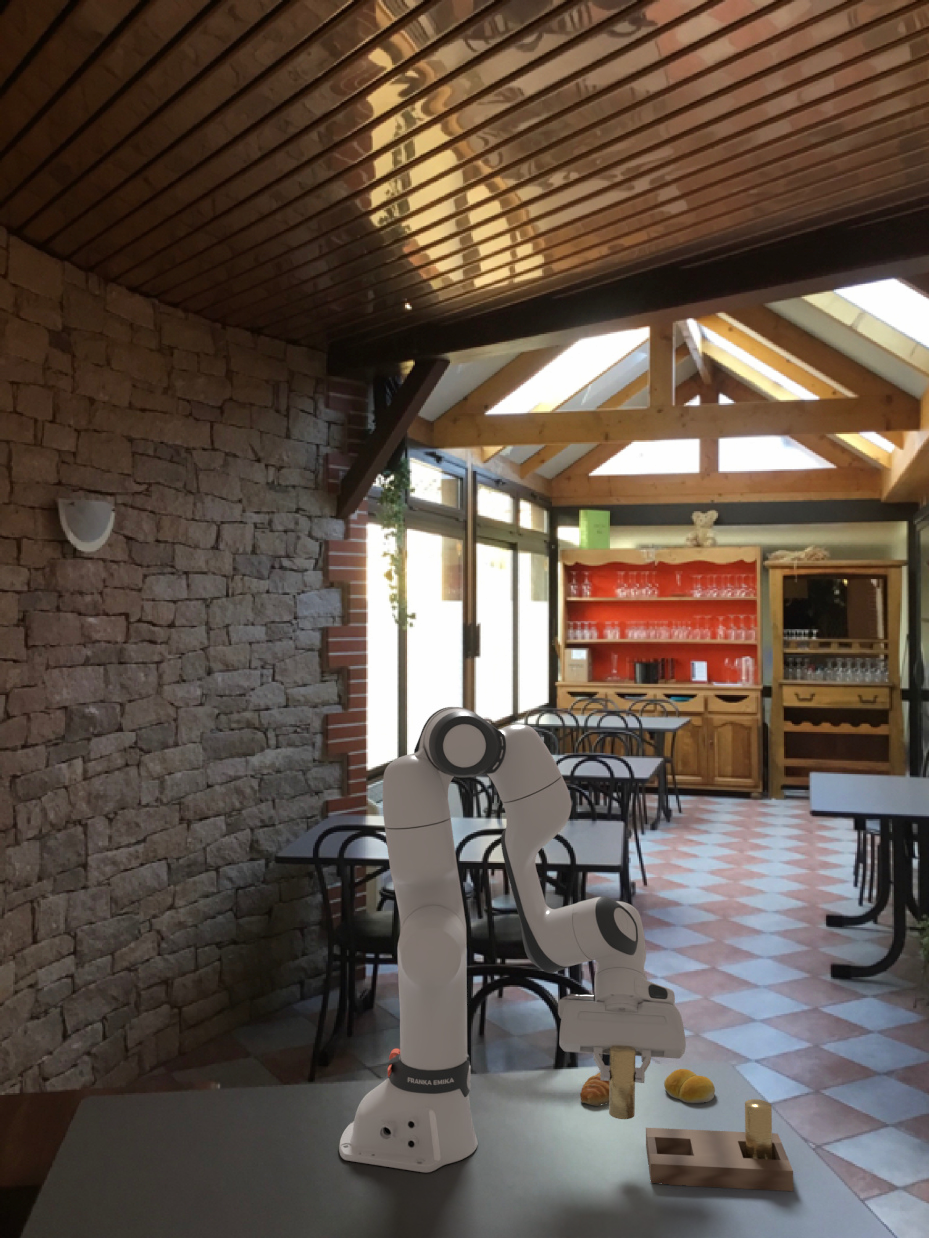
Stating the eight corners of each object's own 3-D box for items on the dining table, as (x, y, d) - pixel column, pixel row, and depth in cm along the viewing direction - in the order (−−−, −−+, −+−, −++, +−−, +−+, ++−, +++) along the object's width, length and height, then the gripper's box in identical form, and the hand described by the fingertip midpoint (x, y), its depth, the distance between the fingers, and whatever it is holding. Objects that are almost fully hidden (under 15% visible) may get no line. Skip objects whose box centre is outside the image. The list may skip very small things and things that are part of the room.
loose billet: (609, 1118, 162) (610, 1053, 162) (608, 1107, 166) (609, 1043, 166) (635, 1120, 161) (636, 1055, 162) (633, 1108, 165) (634, 1045, 166)
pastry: (604, 1112, 182) (603, 1090, 182) (570, 1103, 186) (570, 1081, 186) (628, 1093, 189) (628, 1072, 190) (595, 1085, 193) (595, 1064, 194)
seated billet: (747, 1175, 159) (747, 1109, 160) (743, 1162, 163) (743, 1098, 164) (774, 1177, 159) (773, 1110, 159) (769, 1164, 163) (769, 1099, 163)
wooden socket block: (650, 1183, 157) (650, 1163, 157) (645, 1146, 169) (645, 1127, 169) (793, 1191, 155) (793, 1170, 155) (778, 1152, 167) (777, 1133, 167)
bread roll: (697, 1109, 183) (697, 1086, 183) (657, 1093, 190) (657, 1071, 190) (725, 1096, 188) (725, 1073, 188) (685, 1080, 195) (684, 1059, 195)
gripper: (558, 984, 172) (556, 1067, 162) (683, 991, 170) (689, 1075, 160) (558, 1002, 176) (556, 1084, 166) (680, 1009, 174) (685, 1092, 164)
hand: (622, 1080), depth 163 cm, fingers closed on loose billet, 4 cm apart
